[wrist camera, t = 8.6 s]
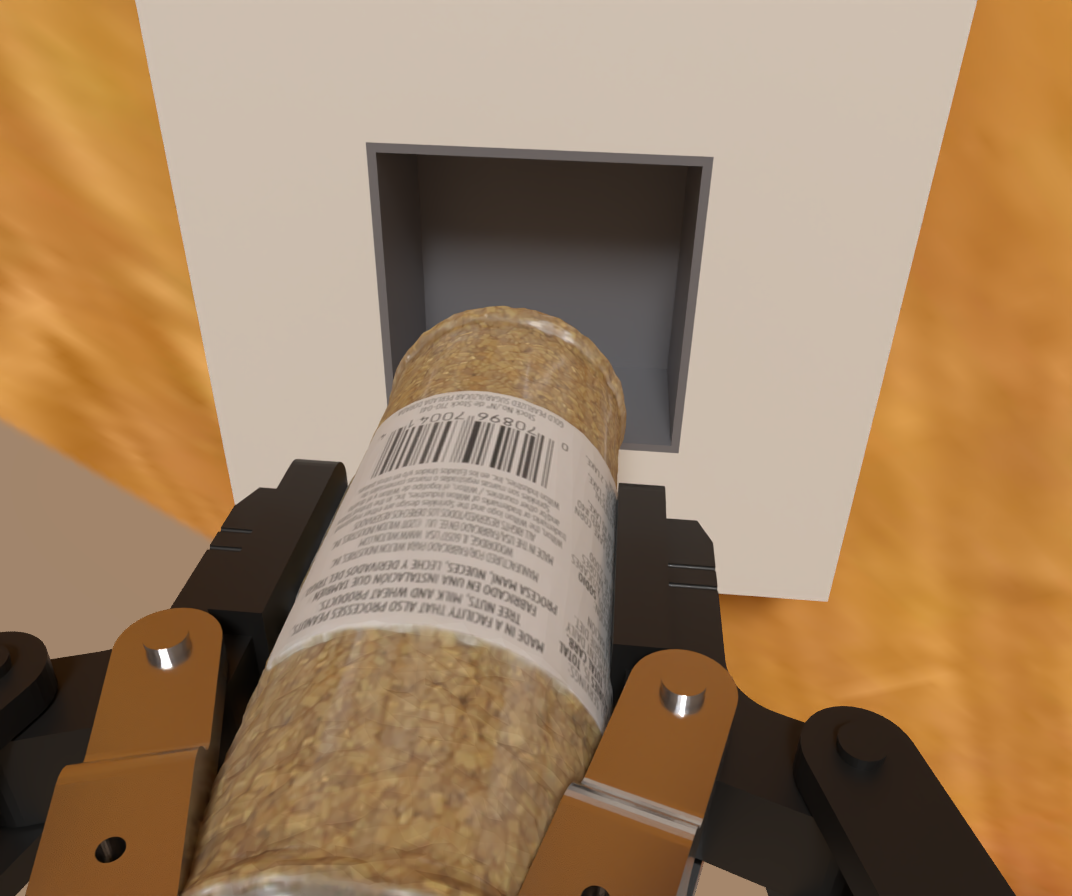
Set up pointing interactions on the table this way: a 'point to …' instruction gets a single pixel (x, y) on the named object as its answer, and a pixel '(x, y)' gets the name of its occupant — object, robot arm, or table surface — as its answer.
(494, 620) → the sprinkles bottle
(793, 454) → the socket block
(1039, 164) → the table surface
